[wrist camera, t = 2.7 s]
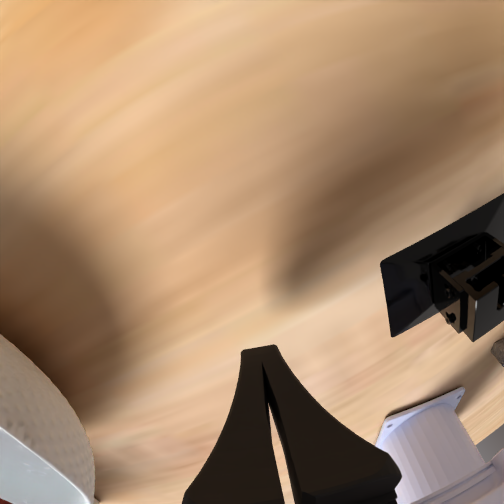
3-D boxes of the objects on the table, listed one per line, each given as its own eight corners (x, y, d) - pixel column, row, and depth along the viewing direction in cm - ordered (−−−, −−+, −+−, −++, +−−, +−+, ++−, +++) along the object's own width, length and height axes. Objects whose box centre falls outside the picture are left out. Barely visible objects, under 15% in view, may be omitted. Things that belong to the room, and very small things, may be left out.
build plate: (513, 167, 14) (571, 193, 9) (513, 264, 17) (556, 298, 13) (340, 256, 14) (386, 317, 10) (369, 353, 18) (401, 411, 14)
